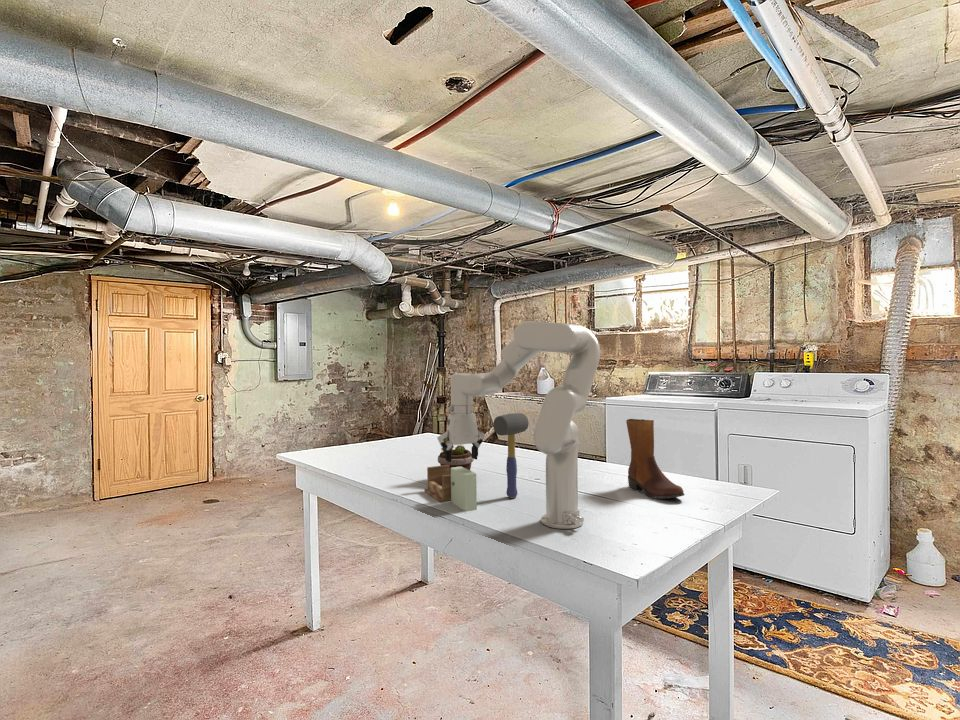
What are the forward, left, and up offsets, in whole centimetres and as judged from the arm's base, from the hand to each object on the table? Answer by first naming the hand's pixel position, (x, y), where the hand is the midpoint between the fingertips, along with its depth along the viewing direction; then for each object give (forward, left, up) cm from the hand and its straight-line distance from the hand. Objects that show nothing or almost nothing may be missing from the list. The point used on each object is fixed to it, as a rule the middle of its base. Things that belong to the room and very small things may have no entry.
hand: (461, 460), depth 171 cm
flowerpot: (+31, -11, -16) cm, 36 cm away
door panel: (0, 0, -16) cm, 16 cm away
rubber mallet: (0, -19, -16) cm, 25 cm away
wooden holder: (+15, 0, -15) cm, 21 cm away
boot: (-21, -66, -16) cm, 71 cm away
